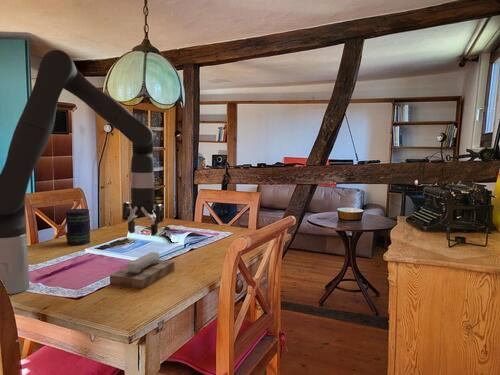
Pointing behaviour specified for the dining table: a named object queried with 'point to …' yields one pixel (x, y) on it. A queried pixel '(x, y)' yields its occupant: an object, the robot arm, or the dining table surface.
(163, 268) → the brown block with holes
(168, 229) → the hand tool
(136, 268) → the grey arch block
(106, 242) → the dining table surface
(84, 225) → the storage jar
